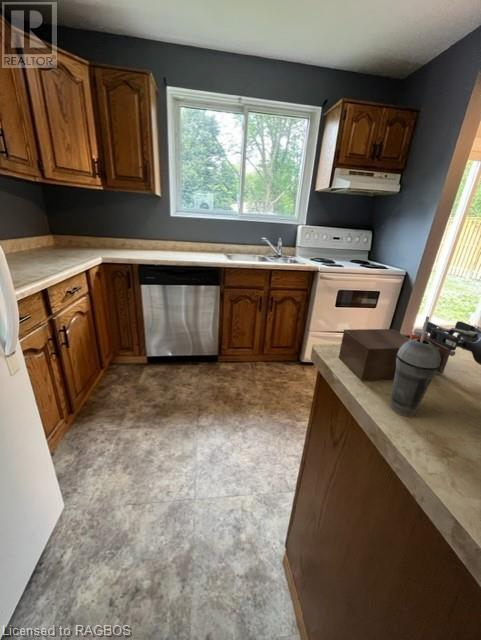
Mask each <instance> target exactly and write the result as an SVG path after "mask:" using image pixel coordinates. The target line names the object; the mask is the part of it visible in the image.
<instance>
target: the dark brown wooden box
mask: <svg viewBox="0 0 481 640" xmlns="http://www.w3.org/2000/svg"><path fill="white" fill-rule="evenodd" d="M410 340H411V339H409V338H407V337H406V336H404V335H402V333H401V332H399V331H397V330H395V329H394V328H374V329H373V328H371V329H370V328H367V329H366V328H365V329H364V328H363V329H362V328H361V329H359V328H358V329H343V333H342V339H341V343H340V349H339V354H338V359H339V360H340V361H341V362H342V363H343V364H344V365H345V366H346V367H347V368H348V369H349V370H350V371H351V372H352V374H354V375H355V376H356V377H357V378H358V380H360V381H362V382H363V381H385V380H387V381H389V380H394V377H395V371H396V358H397V357H396V354H397V353H398V351H399V349H400V348H401V346H402V345H403V344H404V343H406V342H408V341H410Z"/></svg>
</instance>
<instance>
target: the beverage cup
mask: <svg viewBox="0 0 481 640" xmlns="http://www.w3.org/2000/svg"><path fill="white" fill-rule="evenodd" d="M429 320H430V316H428V315H427V316H425V320H424V322H425V324H424V323H423V325H424V328H423V327H422V329H423V332H422V336H421V339H414V340H410V341H408V342H406V343H404V344H403V345H402V346H401V348H400V349H399V351H398V353H397V354H396V357H397V358H396V371H395V377H394V379H393V383H392V388H391V389H392V390H391V395H390V404H389V407H390V409H391V411H393V412H394V413H396V414H397V415H400V416H403V417H407V418H408V417H409V418H410V417H413V416H415V415H416V412H417V411H418V409H419V408H420V405H421V402H422V400H423V399H424V396H425V394H426V392H427V390H428V388H429V386H430V383H431V381H432V379H433V378H434V377H435V376H436V374H437V373H438V372H437V370H438V369H439V368H440V361H441V357H440V353H439V351H438V349H437V348H436V347H435V346H434V345H433V344H432V343H430V342H428V341H426V340H424V336H425V332H426V328H427V324H428V322H429Z"/></svg>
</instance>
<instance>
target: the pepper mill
mask: <svg viewBox="0 0 481 640" xmlns="http://www.w3.org/2000/svg"><path fill="white" fill-rule="evenodd" d="M422 332H423V328H414V329H413V330H412V331H411V332H410V334H411V335H410V339H411V340H414V339H421V336H422ZM429 336H430V334H429V333H428V332H425V336H424V340H426V341H428V338H429Z"/></svg>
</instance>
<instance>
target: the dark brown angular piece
mask: <svg viewBox="0 0 481 640" xmlns="http://www.w3.org/2000/svg"><path fill="white" fill-rule="evenodd" d="M401 334H402V333H401ZM402 335H404V336H406V337H407V338H409V339H410V335H411V333H410V334H408V333H405V334H402ZM428 342H430V343H432V344H433V345H434V346H435V347H436V348H437V349H438V351H439V353H440V357H441V361H440V368H439V369H438V370H437V372H436V373H437V374H443V373H444V372H445V369H446V366H447V363H448V360H449V357H454V356H456V350H450V349H448V348H446V347H444V346H442V345H440V344H438V343H436V342H434V341H432V340H430V339H428Z"/></svg>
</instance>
